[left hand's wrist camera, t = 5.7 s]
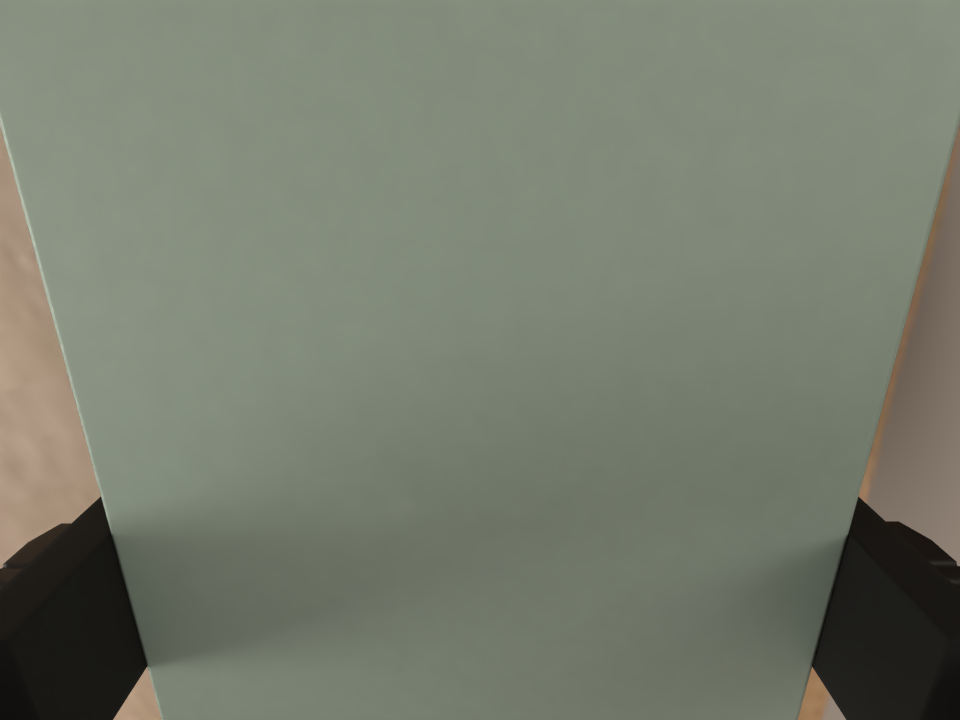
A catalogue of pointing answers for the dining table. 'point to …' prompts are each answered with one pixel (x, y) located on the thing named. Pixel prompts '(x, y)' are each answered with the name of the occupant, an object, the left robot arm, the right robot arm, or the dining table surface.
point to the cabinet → (479, 333)
